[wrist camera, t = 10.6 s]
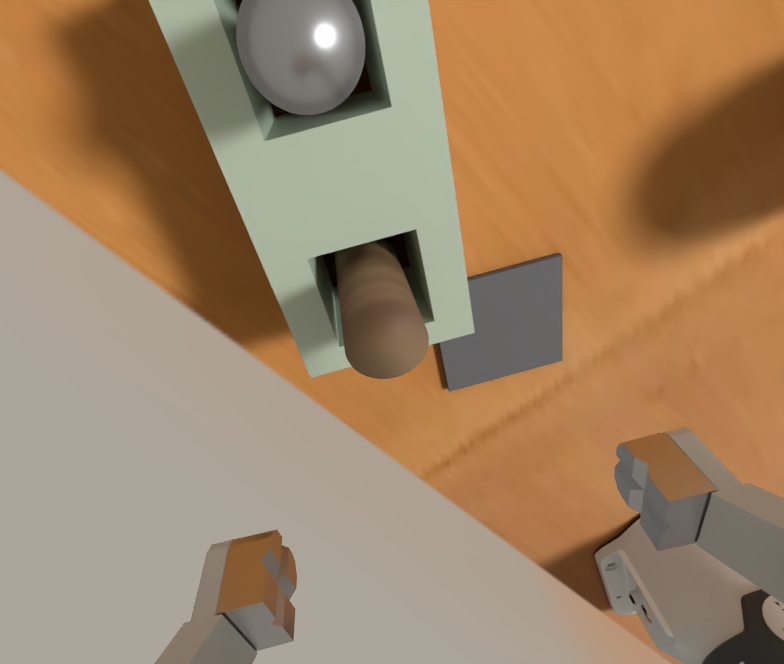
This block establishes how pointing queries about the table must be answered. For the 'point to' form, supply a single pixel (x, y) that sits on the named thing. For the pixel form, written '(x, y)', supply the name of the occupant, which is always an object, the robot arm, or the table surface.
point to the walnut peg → (378, 311)
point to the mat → (509, 324)
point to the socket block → (333, 168)
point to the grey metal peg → (301, 51)
